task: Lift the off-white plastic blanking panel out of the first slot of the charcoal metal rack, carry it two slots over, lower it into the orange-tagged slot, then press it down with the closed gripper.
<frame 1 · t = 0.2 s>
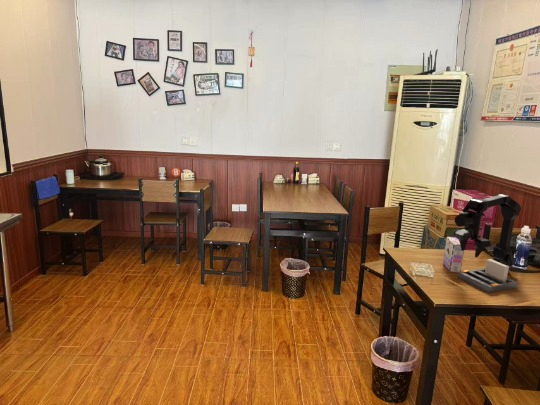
hand: (469, 254, 184), 14 cm above the table, fingers open, 9 cm apart
panel: (494, 281, 184), point 1 cm above the table, touching rack
candy box: (451, 269, 201), on the table
rack: (486, 284, 182), on the table
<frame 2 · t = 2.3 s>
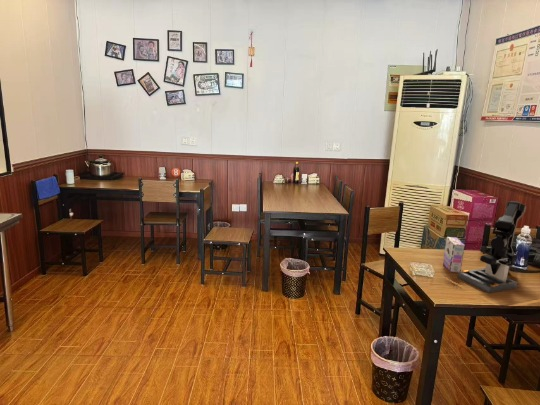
hand: (495, 274, 183), 5 cm above the table, fingers closed on panel, 2 cm apart
panel: (494, 281, 184), point 1 cm above the table, touching gripper, rack
everything else where it was.
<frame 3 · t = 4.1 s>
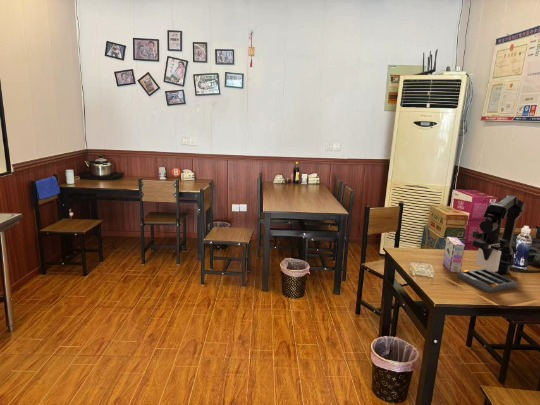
hand: (487, 259, 178), 14 cm above the table, fingers closed on panel, 2 cm apart
panel: (486, 267, 179), point 10 cm above the table, touching gripper
everything else where it was.
when the fingers open (6 cm above the table, at t = 6.2 s): panel stays where it is, resting on rack.
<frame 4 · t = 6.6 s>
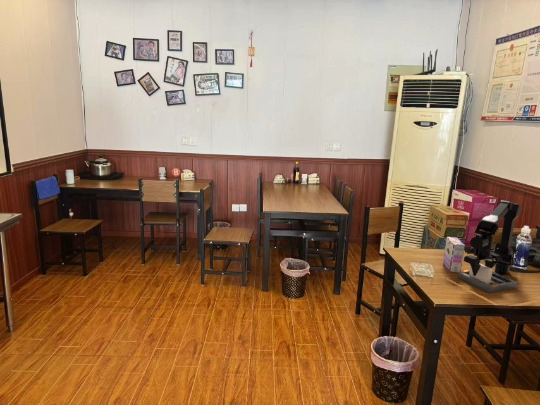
hand: (480, 274, 179), 6 cm above the table, fingers open, 7 cm apart
panel: (478, 284, 180), point 1 cm above the table, touching rack
everything else where it was.
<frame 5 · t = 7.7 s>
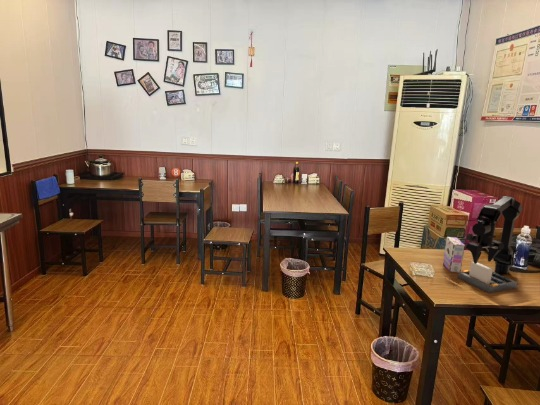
hand: (482, 262, 177), 13 cm above the table, fingers open, 9 cm apart
nothing on the table moved.
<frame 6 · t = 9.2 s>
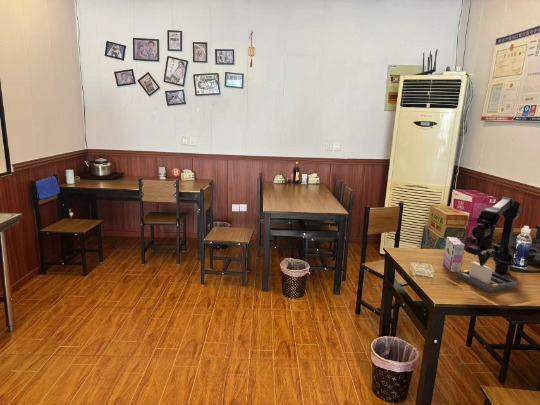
hand: (481, 265, 178), 11 cm above the table, fingers closed, pressing on panel
panel: (478, 284, 180), point 1 cm above the table, touching gripper, rack
everything else where it was.
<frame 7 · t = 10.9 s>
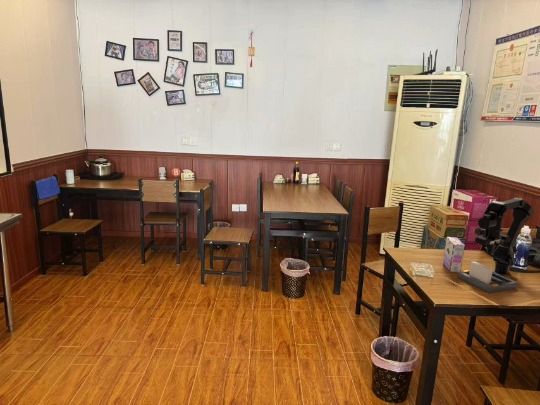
hand: (489, 255, 187), 13 cm above the table, fingers closed
panel: (478, 284, 180), point 1 cm above the table, touching rack
everything else where it was.
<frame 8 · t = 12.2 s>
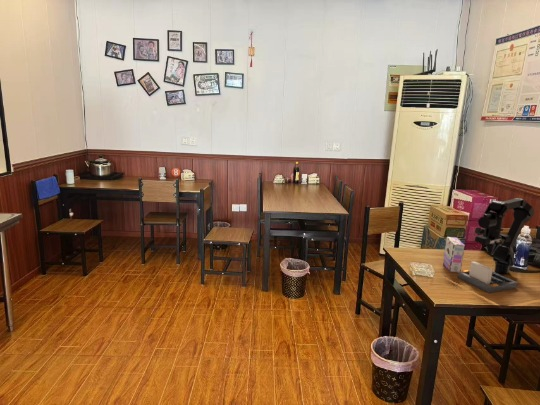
hand: (489, 254, 187), 13 cm above the table, fingers closed
nothing on the table moved.
at the end: panel 0.1 cm from the target spot on the rack, point 1.0 cm above the rack's base; panel tilted 0°; the gripper is holding nothing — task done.
